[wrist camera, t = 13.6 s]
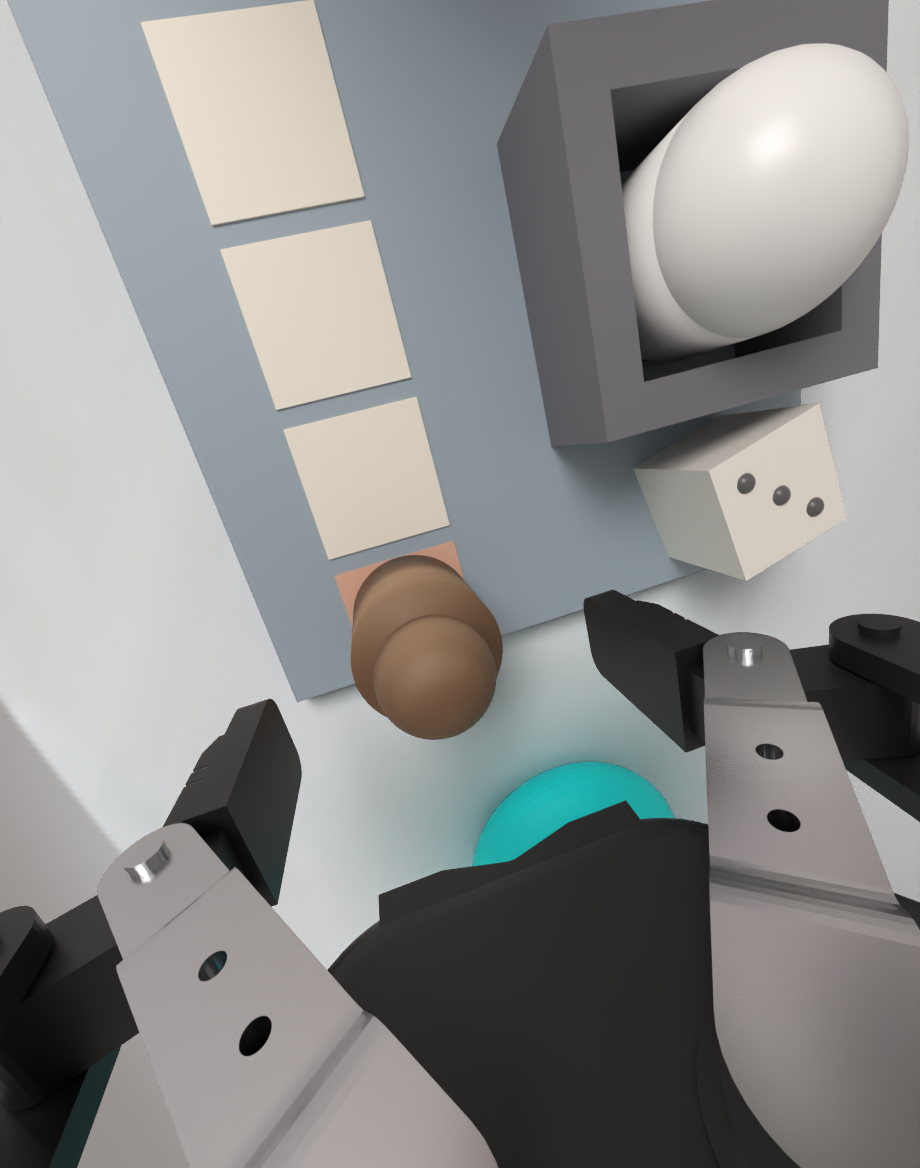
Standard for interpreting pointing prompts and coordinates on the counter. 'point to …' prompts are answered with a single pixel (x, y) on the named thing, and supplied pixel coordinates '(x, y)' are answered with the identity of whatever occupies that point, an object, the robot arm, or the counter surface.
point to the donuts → (562, 806)
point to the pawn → (424, 647)
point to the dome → (763, 198)
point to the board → (421, 276)
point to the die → (744, 490)
